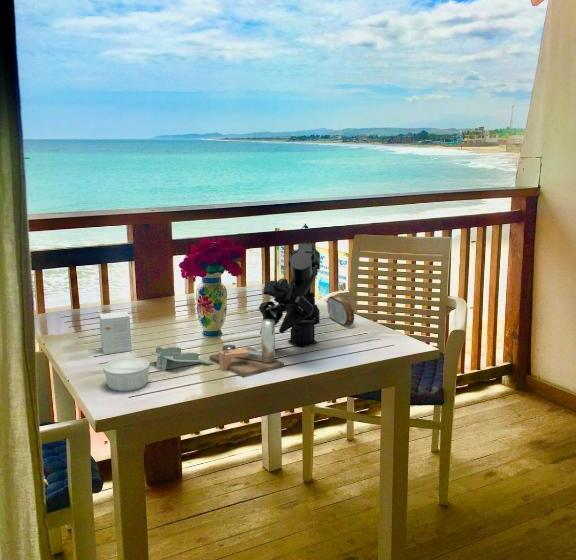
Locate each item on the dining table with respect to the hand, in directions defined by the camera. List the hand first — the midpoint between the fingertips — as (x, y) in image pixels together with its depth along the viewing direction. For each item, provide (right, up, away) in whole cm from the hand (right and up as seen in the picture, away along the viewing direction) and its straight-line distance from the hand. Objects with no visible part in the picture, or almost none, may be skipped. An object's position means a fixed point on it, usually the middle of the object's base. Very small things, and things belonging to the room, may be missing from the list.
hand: (270, 333), depth 172 cm
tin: (+22, 0, +41) cm, 46 cm away
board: (-7, -8, +2) cm, 11 cm away
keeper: (-9, -9, -1) cm, 13 cm away
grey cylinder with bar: (-6, -7, +3) cm, 10 cm away
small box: (-45, -6, +13) cm, 47 cm away
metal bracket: (-25, -9, +2) cm, 27 cm away
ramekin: (-35, -12, -13) cm, 39 cm away
